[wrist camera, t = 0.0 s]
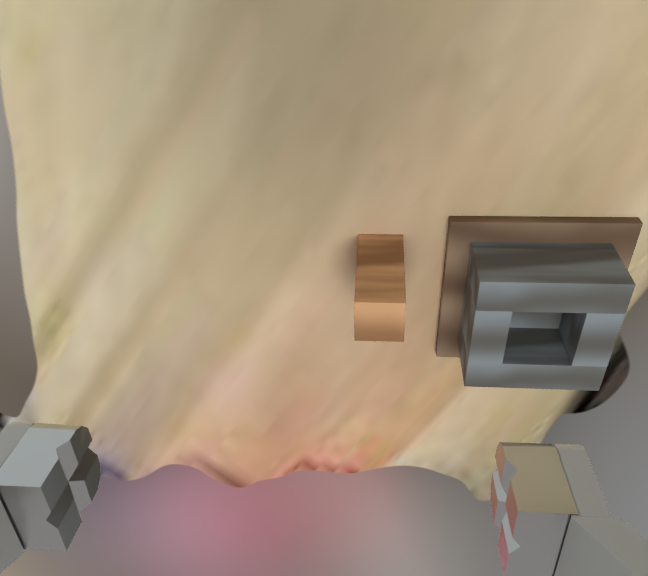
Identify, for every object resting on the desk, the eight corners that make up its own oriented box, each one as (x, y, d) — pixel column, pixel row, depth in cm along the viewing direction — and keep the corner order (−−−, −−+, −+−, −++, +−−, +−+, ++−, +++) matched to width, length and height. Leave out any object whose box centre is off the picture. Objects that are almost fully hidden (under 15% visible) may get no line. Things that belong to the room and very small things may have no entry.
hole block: (449, 216, 52) (457, 260, 46) (638, 217, 51) (670, 264, 45) (435, 349, 62) (440, 400, 56) (594, 354, 60) (615, 406, 55)
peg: (358, 234, 54) (354, 302, 46) (402, 234, 54) (406, 303, 46) (358, 270, 56) (354, 340, 48) (401, 270, 56) (403, 341, 48)
